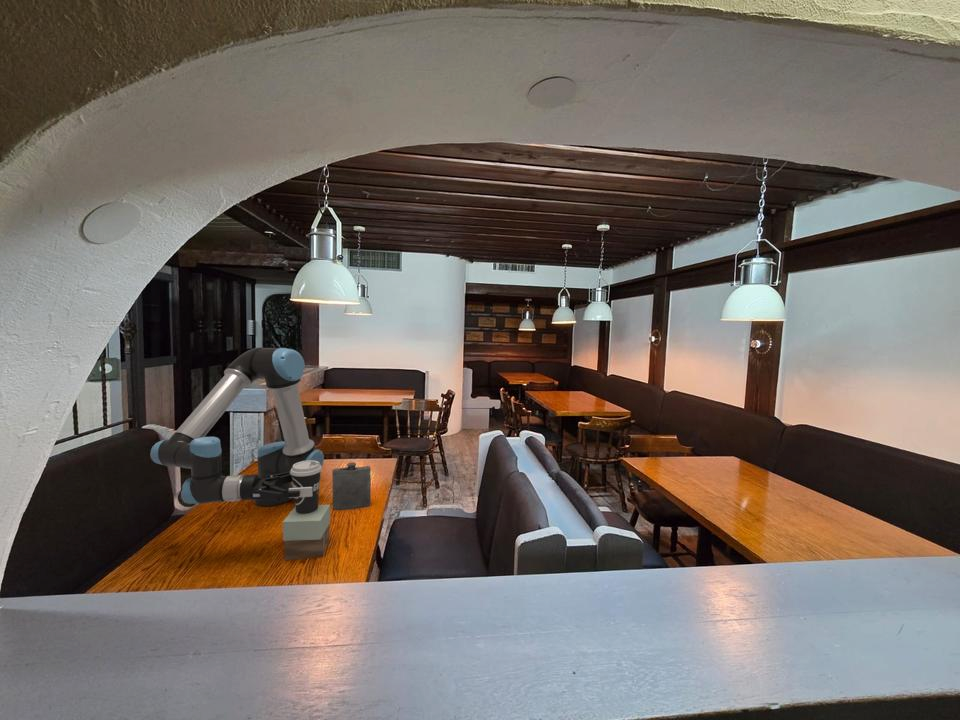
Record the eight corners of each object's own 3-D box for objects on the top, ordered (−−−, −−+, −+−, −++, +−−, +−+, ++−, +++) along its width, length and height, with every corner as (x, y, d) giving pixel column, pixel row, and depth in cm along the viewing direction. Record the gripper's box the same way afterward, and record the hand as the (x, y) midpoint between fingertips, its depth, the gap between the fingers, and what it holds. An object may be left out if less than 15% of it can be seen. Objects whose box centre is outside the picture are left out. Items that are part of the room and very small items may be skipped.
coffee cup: (313, 517, 122) (312, 470, 120) (284, 515, 123) (283, 468, 121) (328, 503, 131) (327, 460, 130) (301, 501, 132) (300, 458, 131)
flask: (370, 507, 155) (370, 463, 154) (332, 511, 151) (331, 466, 150) (370, 503, 158) (370, 460, 157) (333, 507, 154) (332, 463, 153)
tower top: (296, 523, 130) (295, 505, 129) (330, 521, 131) (330, 504, 131) (283, 540, 119) (282, 522, 118) (320, 539, 120) (320, 520, 120)
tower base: (294, 541, 129) (294, 524, 129) (329, 538, 132) (329, 521, 131) (284, 561, 119) (284, 542, 118) (323, 557, 121) (322, 538, 120)
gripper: (257, 483, 132) (323, 479, 137) (226, 518, 108) (308, 512, 112) (256, 462, 131) (323, 458, 136) (225, 492, 107) (307, 486, 112)
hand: (316, 483), depth 124 cm, fingers open, 13 cm apart
